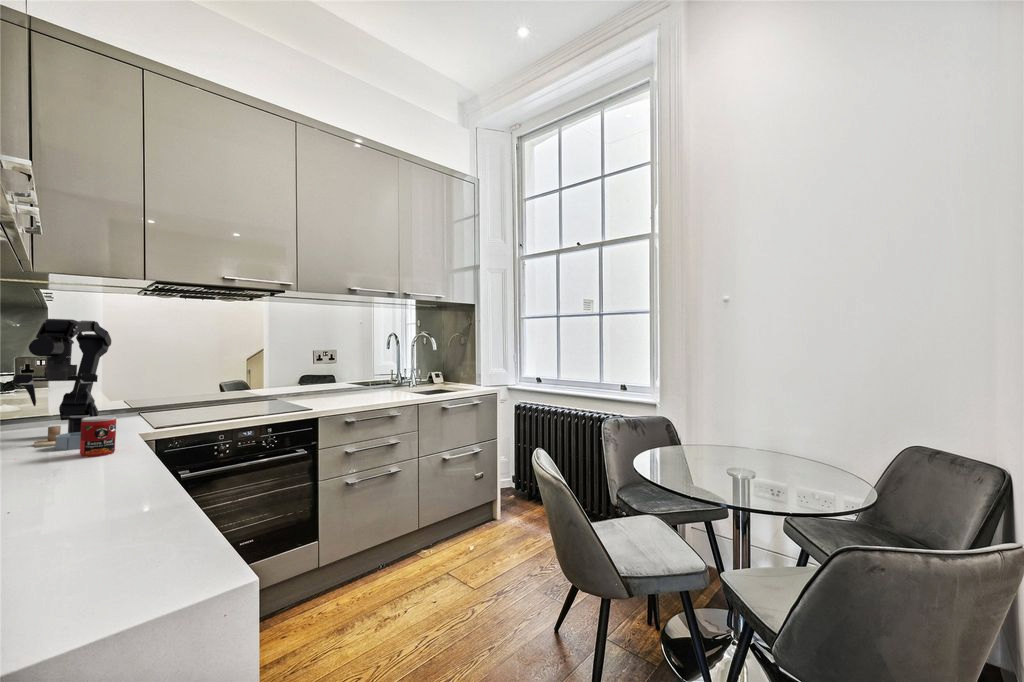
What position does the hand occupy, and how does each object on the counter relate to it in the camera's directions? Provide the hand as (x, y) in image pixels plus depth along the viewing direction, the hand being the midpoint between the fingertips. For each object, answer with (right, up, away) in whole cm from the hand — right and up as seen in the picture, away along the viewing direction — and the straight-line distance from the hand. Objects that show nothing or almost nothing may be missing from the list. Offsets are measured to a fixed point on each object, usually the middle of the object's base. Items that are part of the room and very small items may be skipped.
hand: (55, 405), depth 140 cm
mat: (0, -13, 0) cm, 13 cm away
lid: (0, -13, 0) cm, 13 cm away
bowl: (+11, -13, -4) cm, 18 cm away
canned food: (+24, -13, -11) cm, 30 cm away
